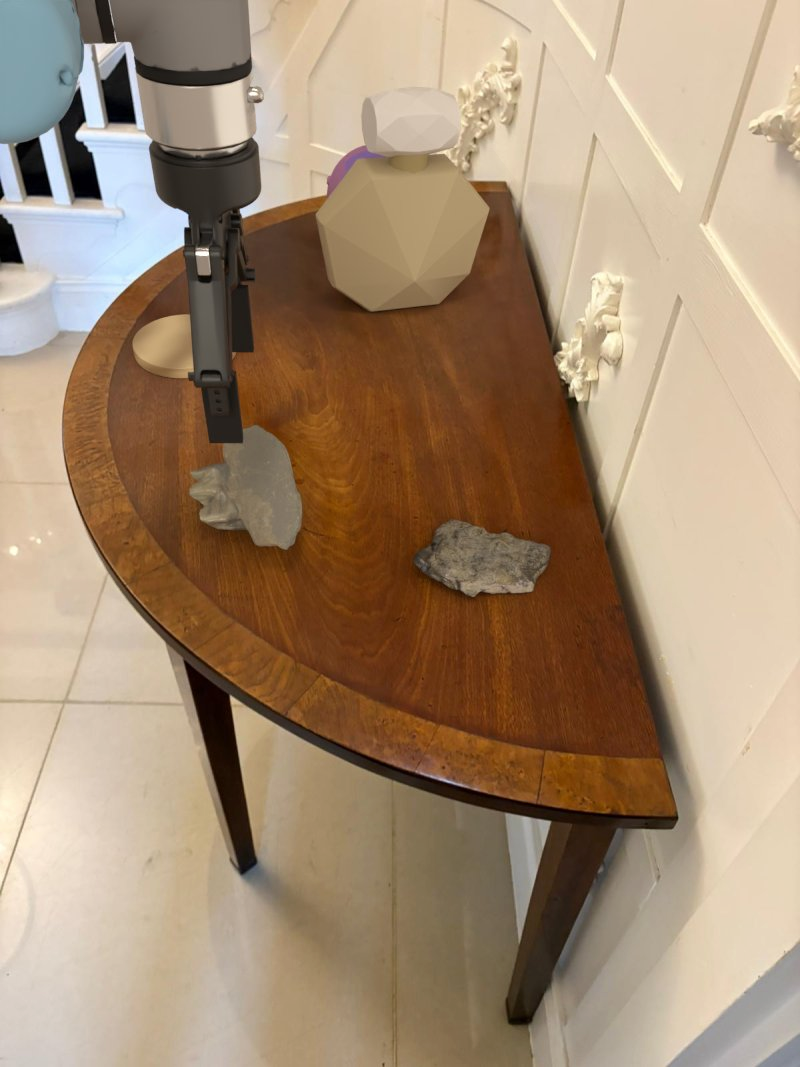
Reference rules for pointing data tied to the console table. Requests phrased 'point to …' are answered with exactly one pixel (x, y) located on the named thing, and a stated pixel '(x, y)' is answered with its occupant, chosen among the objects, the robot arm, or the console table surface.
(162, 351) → the maple disc
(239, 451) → the fossil
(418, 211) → the perfume bottle
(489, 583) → the stone
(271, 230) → the console table surface
